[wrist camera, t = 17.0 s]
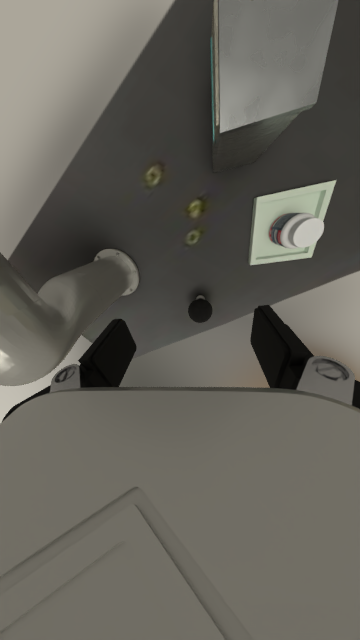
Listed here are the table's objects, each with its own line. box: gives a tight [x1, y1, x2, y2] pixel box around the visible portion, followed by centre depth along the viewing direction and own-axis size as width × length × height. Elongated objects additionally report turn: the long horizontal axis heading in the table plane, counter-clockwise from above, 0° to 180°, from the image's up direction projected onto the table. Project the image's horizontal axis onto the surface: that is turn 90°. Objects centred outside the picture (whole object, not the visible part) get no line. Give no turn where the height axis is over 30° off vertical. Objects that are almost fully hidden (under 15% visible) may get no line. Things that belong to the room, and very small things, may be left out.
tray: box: [248, 180, 336, 265], centre depth 29 cm, size 12×12×2 cm
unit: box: [210, 0, 338, 173], centre depth 16 cm, size 8×11×17 cm
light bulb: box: [188, 295, 212, 323], centre depth 37 cm, size 6×6×10 cm
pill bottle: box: [269, 213, 324, 249], centre depth 26 cm, size 5×5×9 cm
